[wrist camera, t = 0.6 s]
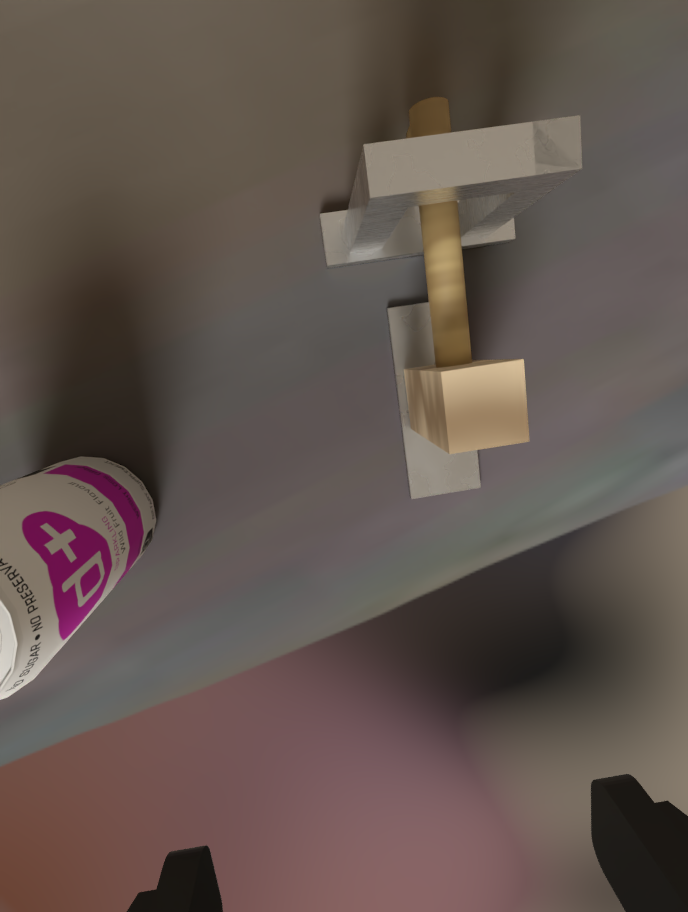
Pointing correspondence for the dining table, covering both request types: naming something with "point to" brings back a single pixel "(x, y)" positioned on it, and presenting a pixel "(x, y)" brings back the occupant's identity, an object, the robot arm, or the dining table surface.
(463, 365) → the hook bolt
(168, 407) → the dining table surface
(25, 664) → the supplement can
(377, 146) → the white stand
